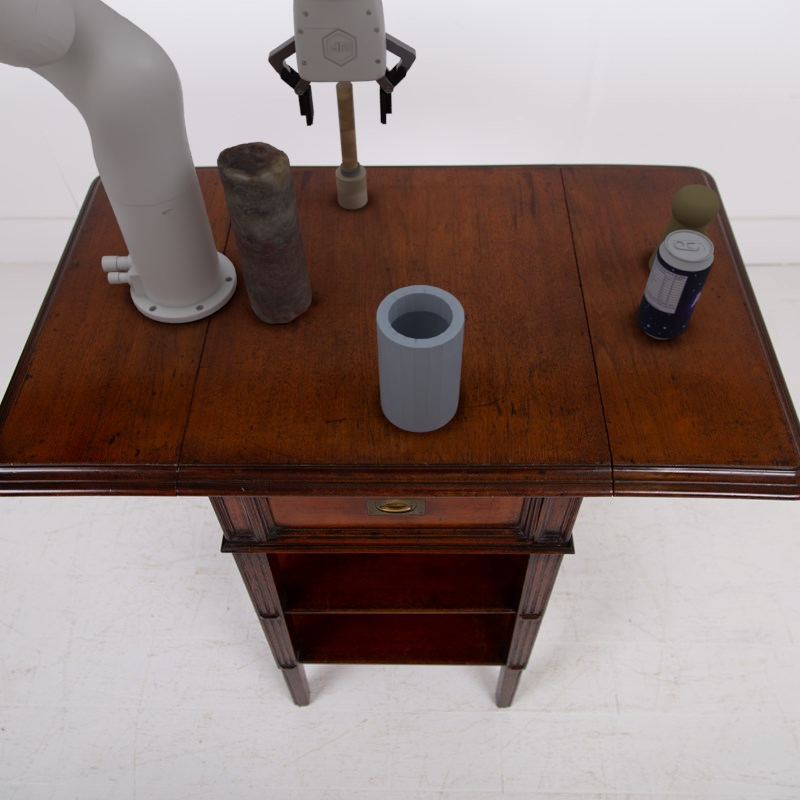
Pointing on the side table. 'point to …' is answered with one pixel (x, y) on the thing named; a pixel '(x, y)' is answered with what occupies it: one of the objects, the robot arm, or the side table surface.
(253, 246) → the brown rough cylinder
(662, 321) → the beverage can
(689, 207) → the olive pawn
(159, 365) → the side table surface
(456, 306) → the grey hollow tube
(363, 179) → the brush
